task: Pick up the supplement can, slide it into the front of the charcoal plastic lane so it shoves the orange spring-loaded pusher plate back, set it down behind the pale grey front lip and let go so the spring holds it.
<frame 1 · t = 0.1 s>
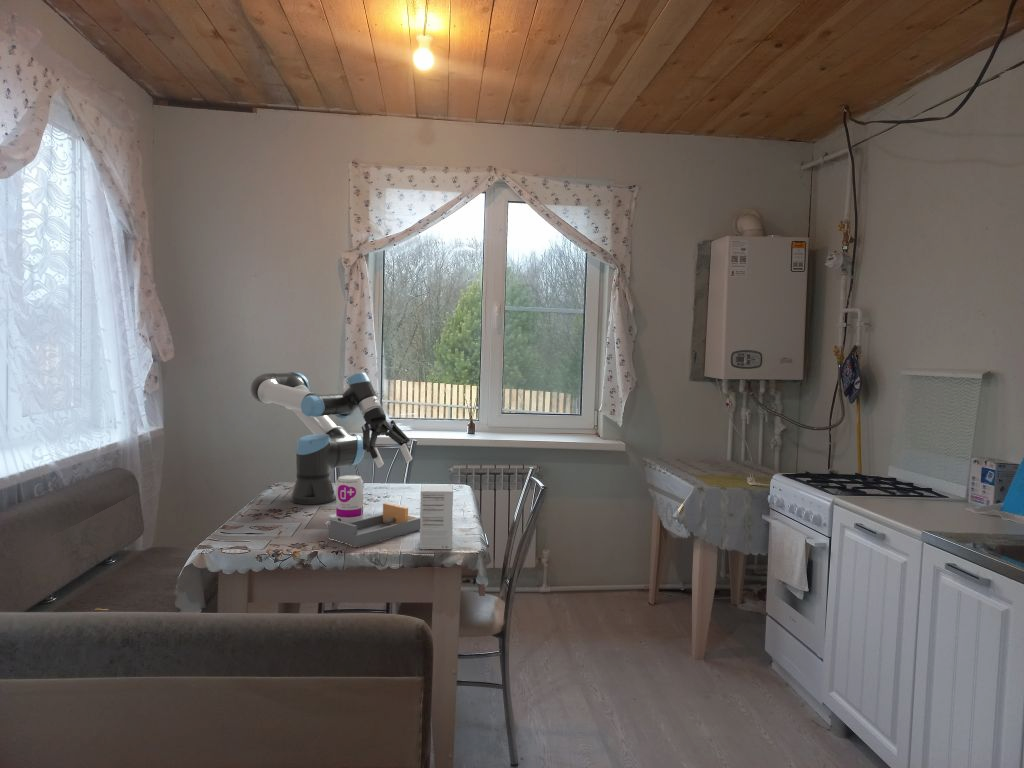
hand: (395, 463, 239), 15 cm above the table, tool tilted 35°, fingers open, 13 cm apart
supplement can: (349, 524, 217), on the table
supplement box: (436, 545, 196), on the table
pusher lane: (376, 534, 206), on the table
pusher: (391, 516, 210), point 4 cm above the table, slide at 0.0 cm
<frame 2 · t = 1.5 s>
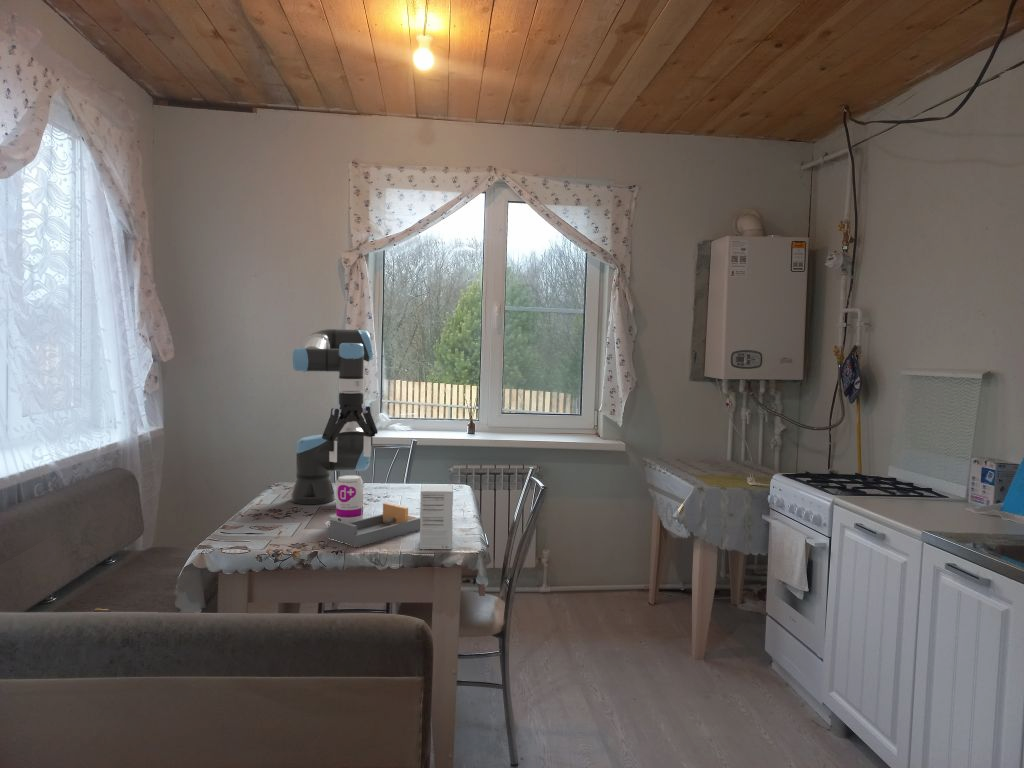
hand: (350, 459, 215), 21 cm above the table, tool pointing down, fingers open, 13 cm apart
nothing on the table moved.
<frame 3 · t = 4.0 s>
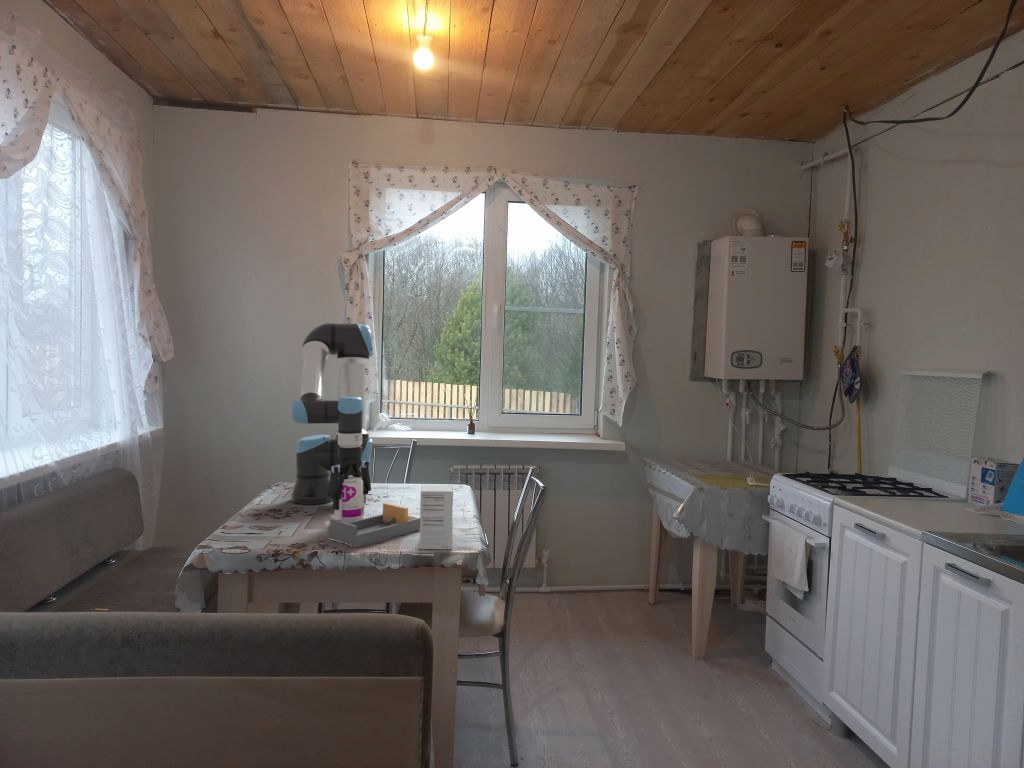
hand: (349, 516, 216), 2 cm above the table, tool pointing down, fingers closed on supplement can, 8 cm apart
supplement can: (349, 524, 217), on the table, touching gripper
everything else where it was.
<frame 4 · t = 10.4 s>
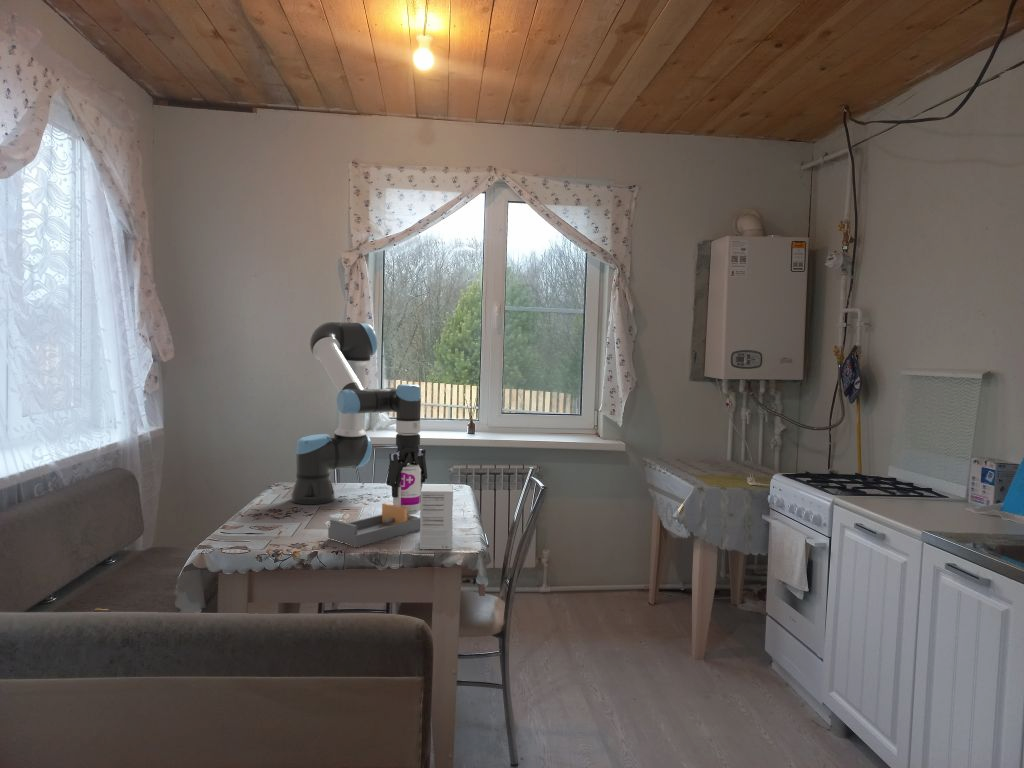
hand: (407, 504, 216), 7 cm above the table, tool pointing down, fingers closed on supplement can, 8 cm apart
supplement can: (407, 512, 216), point 4 cm above the table, touching gripper
pusher: (390, 516, 210), point 4 cm above the table, slide at 0.4 cm, touching gripper
everything else where it was.
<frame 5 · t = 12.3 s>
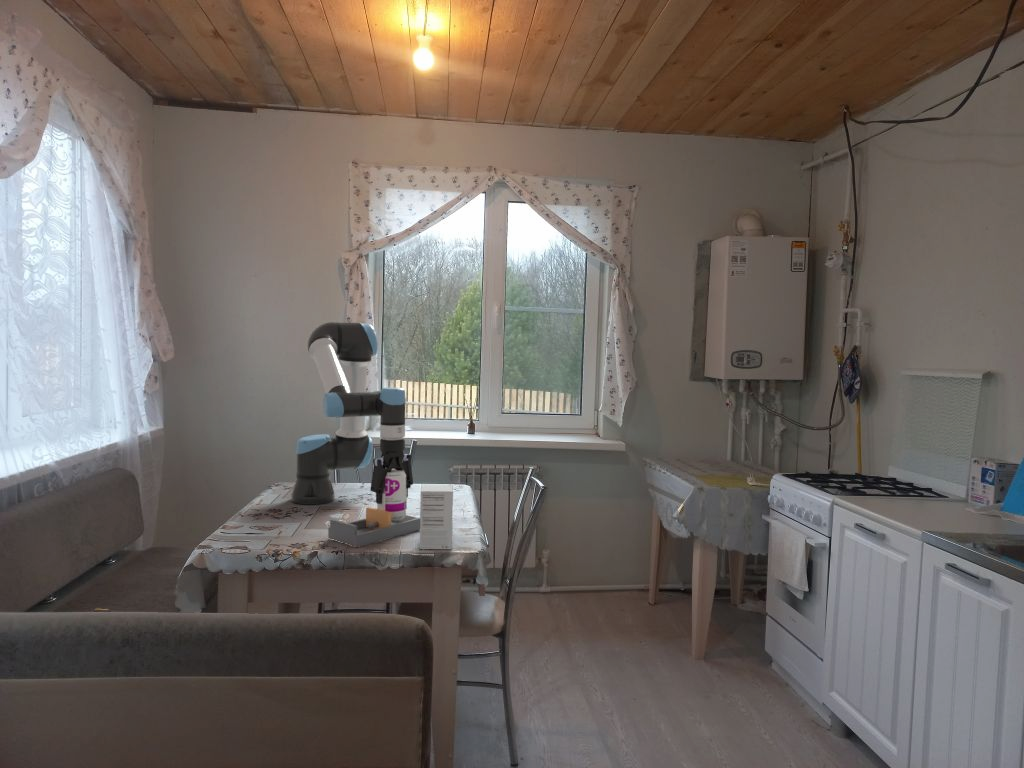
hand: (392, 511, 210), 6 cm above the table, tool pointing down, fingers closed on supplement can, 8 cm apart
supplement can: (392, 519, 210), point 3 cm above the table, touching gripper
pusher: (374, 520, 205), point 4 cm above the table, slide at 6.9 cm, touching gripper
everything else where it was.
when the fingers open (5 cm above the table, at t = 13.0 s): supplement can drops 1 cm, resting on pusher lane.
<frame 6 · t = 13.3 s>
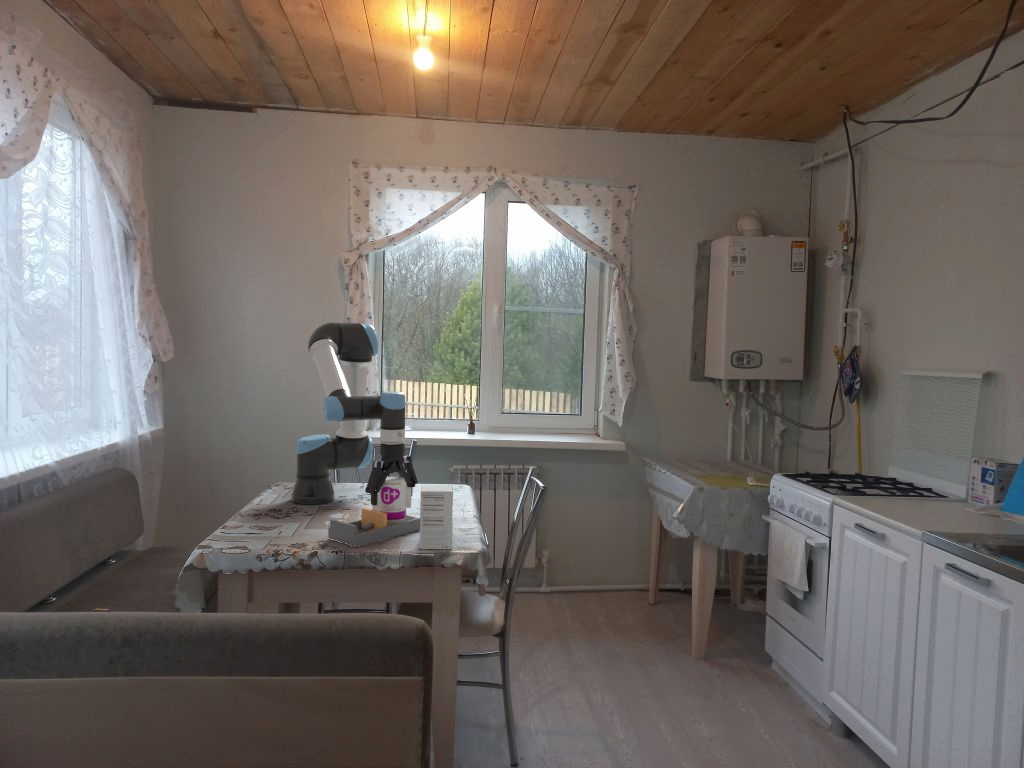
hand: (392, 511, 211), 6 cm above the table, tool pointing down, fingers open, 12 cm apart
supplement can: (392, 527, 211), point 1 cm above the table, touching pusher lane
pusher: (370, 521, 204), point 4 cm above the table, slide at 8.7 cm, touching gripper
everything else where it was.
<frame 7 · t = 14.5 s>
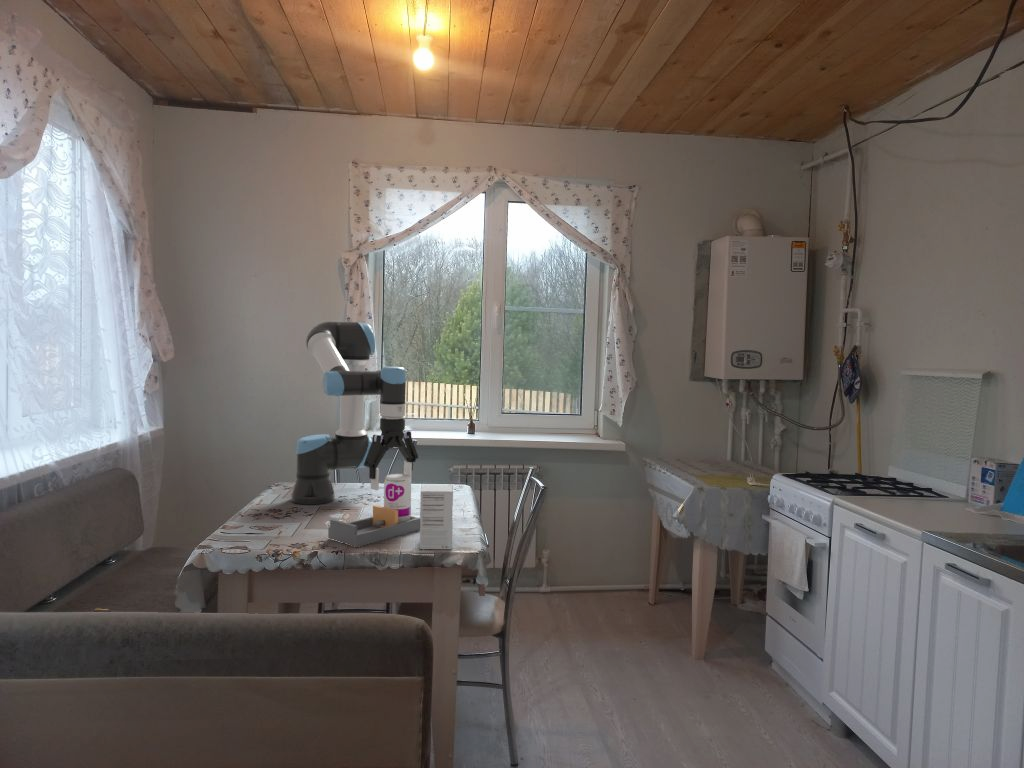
hand: (391, 485, 210), 14 cm above the table, tool pointing down, fingers open, 13 cm apart
supplement can: (397, 524, 212), point 1 cm above the table, touching pusher, pusher lane
pusher: (381, 518, 207), point 4 cm above the table, slide at 4.2 cm, touching supplement can
everything else where it was.
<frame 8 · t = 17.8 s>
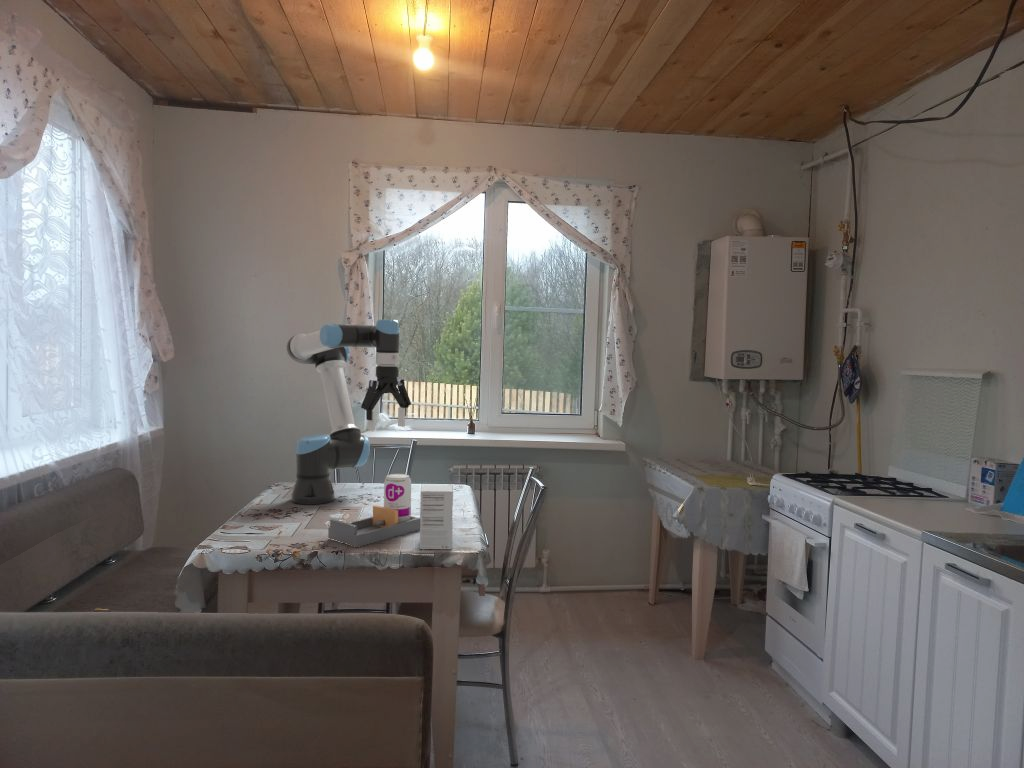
hand: (386, 428, 231), 29 cm above the table, tool pointing down, fingers open, 13 cm apart
nothing on the table moved.
at the end: supplement can 1.1 cm from the target spot on the pusher lane, point 1.4 cm above the pusher lane's base; supplement can tilted 0°; pusher slide at 4.2 cm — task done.
